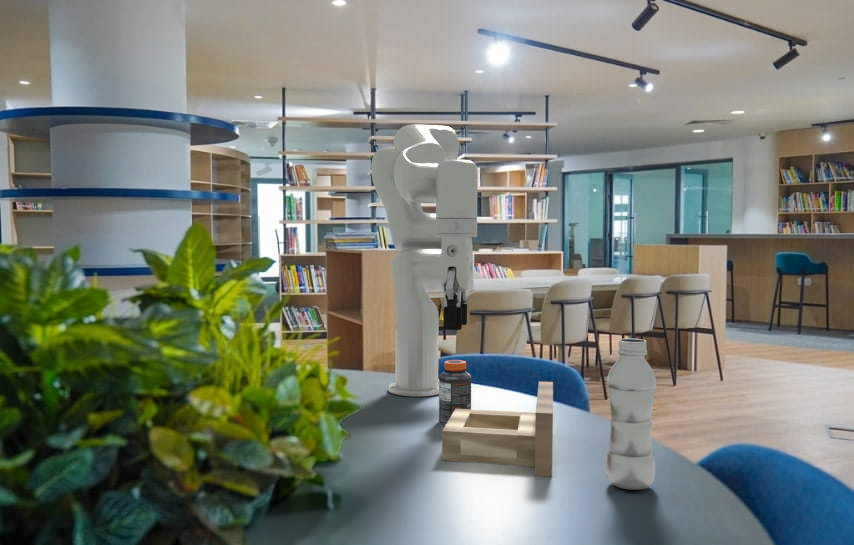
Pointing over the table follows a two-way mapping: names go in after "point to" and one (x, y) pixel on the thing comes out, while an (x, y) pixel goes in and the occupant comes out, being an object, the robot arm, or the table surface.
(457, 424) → the socket block
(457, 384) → the pill bottle
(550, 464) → the backstop wall
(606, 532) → the table surface
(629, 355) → the plastic bottle
